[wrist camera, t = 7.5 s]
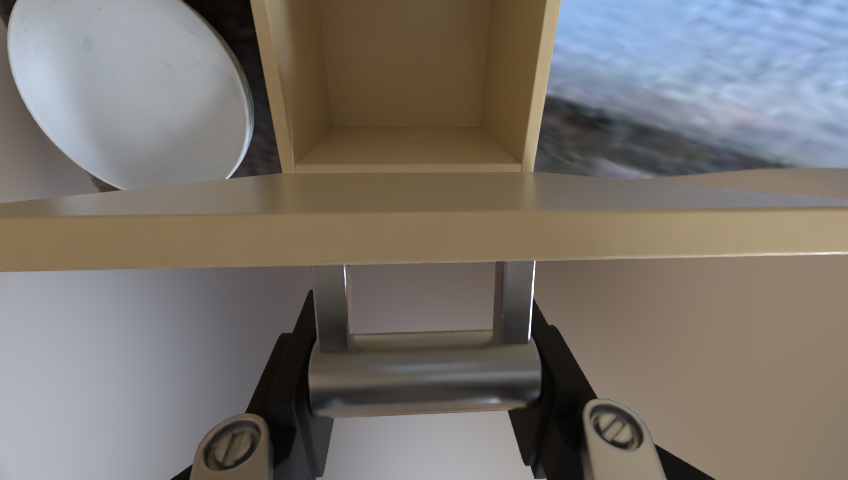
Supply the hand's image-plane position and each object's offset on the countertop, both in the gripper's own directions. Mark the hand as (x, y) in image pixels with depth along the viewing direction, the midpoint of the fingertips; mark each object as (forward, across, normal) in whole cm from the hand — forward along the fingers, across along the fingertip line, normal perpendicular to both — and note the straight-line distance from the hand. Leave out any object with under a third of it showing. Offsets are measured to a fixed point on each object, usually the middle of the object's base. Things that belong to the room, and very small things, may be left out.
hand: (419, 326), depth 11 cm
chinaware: (+26, +19, -5) cm, 33 cm away
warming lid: (+4, 0, -4) cm, 5 cm away
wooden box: (+26, 0, -9) cm, 28 cm away
